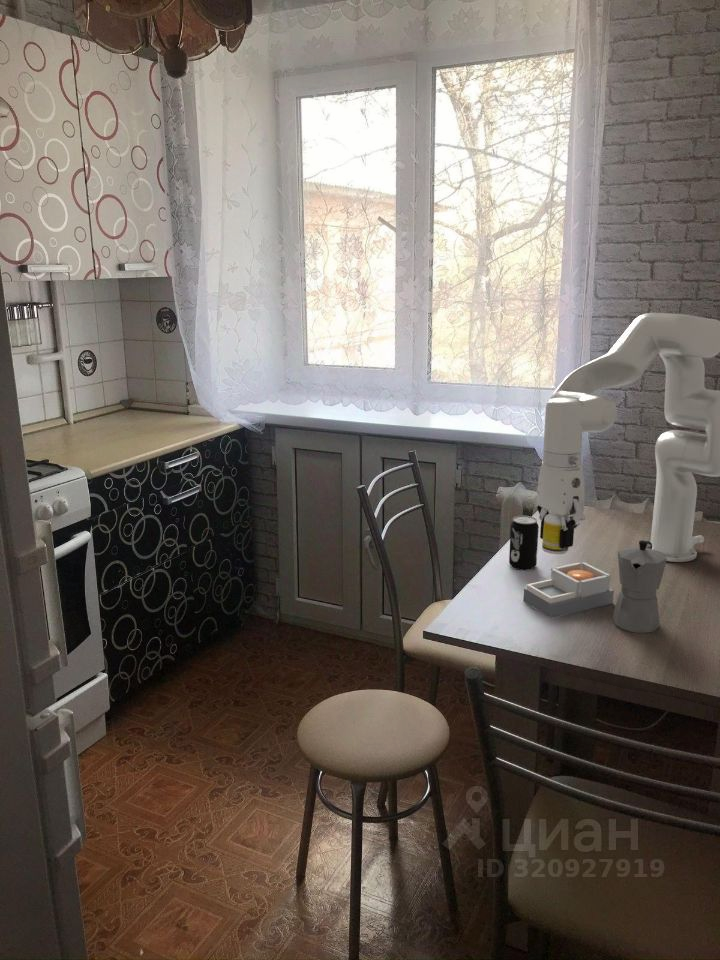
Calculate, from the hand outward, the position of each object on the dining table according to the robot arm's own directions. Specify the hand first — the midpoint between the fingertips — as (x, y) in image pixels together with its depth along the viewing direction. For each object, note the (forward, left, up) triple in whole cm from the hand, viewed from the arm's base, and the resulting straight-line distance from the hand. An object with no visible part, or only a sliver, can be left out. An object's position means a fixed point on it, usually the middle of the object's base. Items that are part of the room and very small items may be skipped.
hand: (556, 541), depth 164 cm
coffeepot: (-11, +14, -15) cm, 23 cm away
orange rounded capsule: (-7, 0, -14) cm, 16 cm away
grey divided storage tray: (-4, 0, -15) cm, 15 cm away
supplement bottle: (0, 0, -2) cm, 2 cm away
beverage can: (-8, -22, -15) cm, 27 cm away
